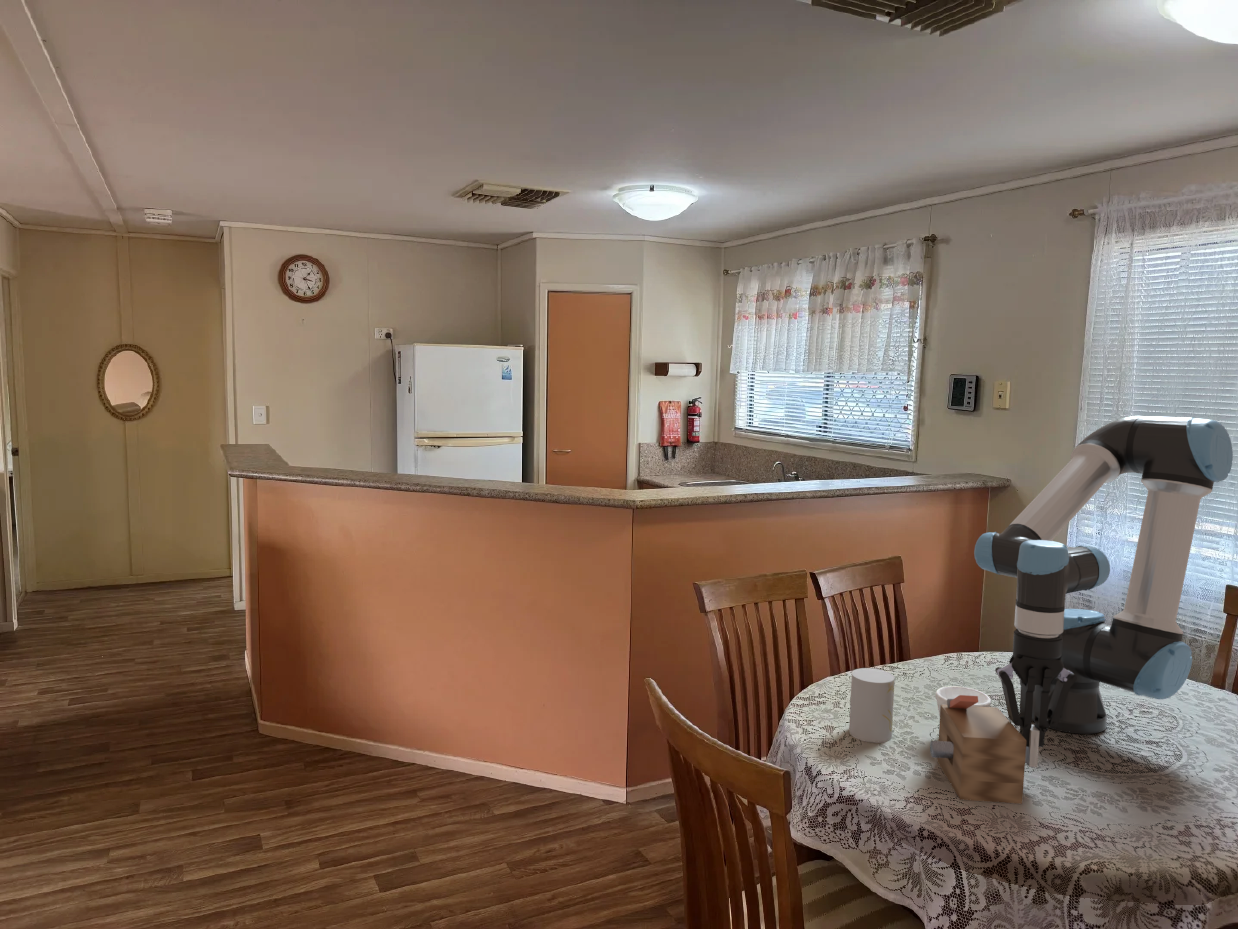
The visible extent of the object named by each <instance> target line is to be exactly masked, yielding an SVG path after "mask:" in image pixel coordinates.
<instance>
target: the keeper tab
mask: <svg viewBox="0 0 1238 929" xmlns="http://www.w3.org/2000/svg"><path fill="white" fill-rule="evenodd" d="M977 702H978V696H966V695H959V696H958V697H956V698H954V699H947V706H948V708H960V709H967V708H969V707H971V706H972V705H974V704H976V703H977Z"/></svg>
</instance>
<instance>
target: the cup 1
mask: <svg viewBox="0 0 1238 929" xmlns="http://www.w3.org/2000/svg"><path fill="white" fill-rule="evenodd" d="M895 680H896V677H895V675H894V674H892V673H891V672H889V671H886V670H882V669H879V668H870V667H869V668H868V667H862V668H856V669H853V671H852V672H851V682H850V684H851V686H850V702H849V703H850V704H849V705H850V706H849V725H848V726H849V727H848V728H849V730H848V733H849V734H850V735H851V736H852V737H853V738H855V739H857V740H860V741H863V742H867V743H874V744H875V743H886V742H888V741H889V742H890V741H891V739H892V738H893V720H894V719H893V718H894V703H895V702H894V701H895V700H894V699H895V682H896V681H895Z"/></svg>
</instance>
